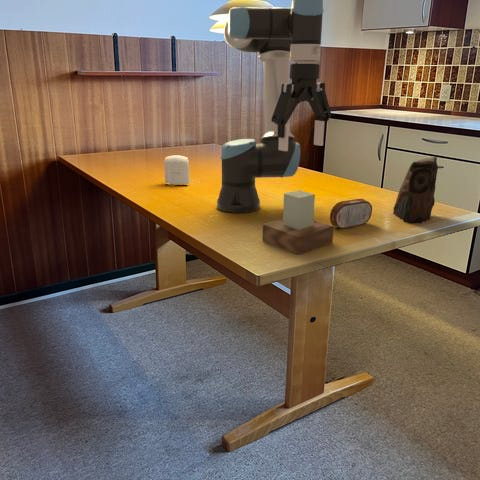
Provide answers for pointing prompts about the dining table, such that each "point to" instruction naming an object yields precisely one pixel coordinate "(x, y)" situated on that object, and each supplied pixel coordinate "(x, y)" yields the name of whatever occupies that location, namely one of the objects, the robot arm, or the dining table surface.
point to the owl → (417, 192)
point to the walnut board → (298, 236)
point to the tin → (350, 213)
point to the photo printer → (176, 170)
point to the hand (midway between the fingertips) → (301, 147)
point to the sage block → (298, 209)
